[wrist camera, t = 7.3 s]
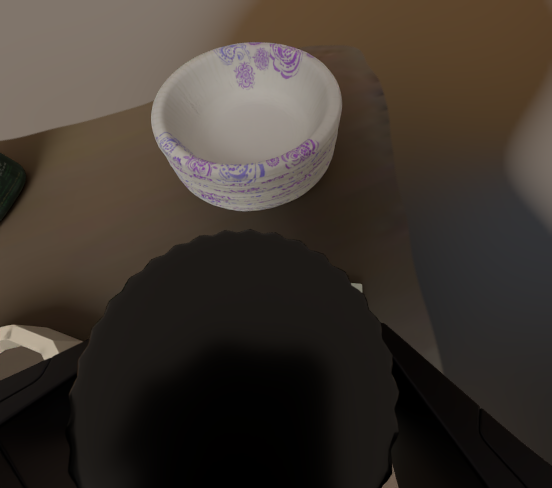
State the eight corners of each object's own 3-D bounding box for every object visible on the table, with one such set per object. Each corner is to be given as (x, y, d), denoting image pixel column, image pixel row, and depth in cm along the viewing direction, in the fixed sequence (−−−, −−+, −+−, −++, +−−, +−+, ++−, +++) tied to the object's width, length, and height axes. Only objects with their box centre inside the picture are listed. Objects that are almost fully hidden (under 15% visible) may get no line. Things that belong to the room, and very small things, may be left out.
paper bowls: (309, 100, 30) (314, 21, 23) (349, 210, 25) (372, 150, 17) (182, 126, 30) (147, 55, 23) (192, 243, 24) (147, 197, 17)
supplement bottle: (338, 307, 16) (461, 196, 5) (332, 443, 13) (585, 943, 2) (227, 293, 16) (101, 166, 5) (201, 421, 14) (-161, 707, 3)
